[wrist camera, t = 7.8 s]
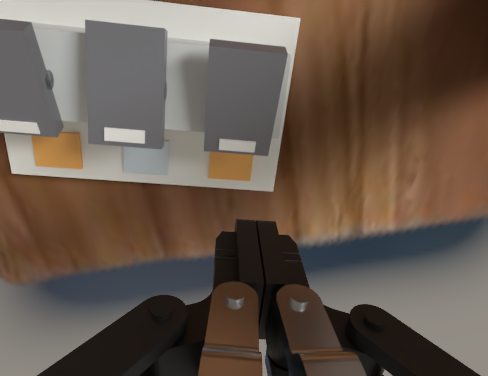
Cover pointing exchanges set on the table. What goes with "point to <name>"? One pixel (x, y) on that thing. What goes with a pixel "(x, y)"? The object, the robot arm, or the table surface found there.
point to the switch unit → (177, 101)
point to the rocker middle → (126, 84)
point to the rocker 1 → (25, 84)
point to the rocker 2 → (242, 96)
